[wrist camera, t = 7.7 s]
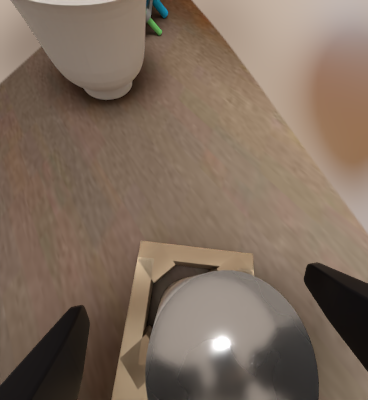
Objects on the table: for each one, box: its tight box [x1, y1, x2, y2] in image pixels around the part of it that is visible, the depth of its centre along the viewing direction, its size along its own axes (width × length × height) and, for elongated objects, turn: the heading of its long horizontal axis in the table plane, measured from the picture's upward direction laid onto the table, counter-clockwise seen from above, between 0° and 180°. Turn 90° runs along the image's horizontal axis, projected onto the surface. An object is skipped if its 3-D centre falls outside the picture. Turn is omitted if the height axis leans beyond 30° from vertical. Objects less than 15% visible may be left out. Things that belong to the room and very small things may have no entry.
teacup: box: [11, 0, 146, 100], centre depth 20 cm, size 12×15×10 cm
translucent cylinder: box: [145, 270, 319, 400], centre depth 10 cm, size 4×4×11 cm
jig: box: [111, 241, 254, 400], centre depth 12 cm, size 16×8×3 cm, turn 174°
